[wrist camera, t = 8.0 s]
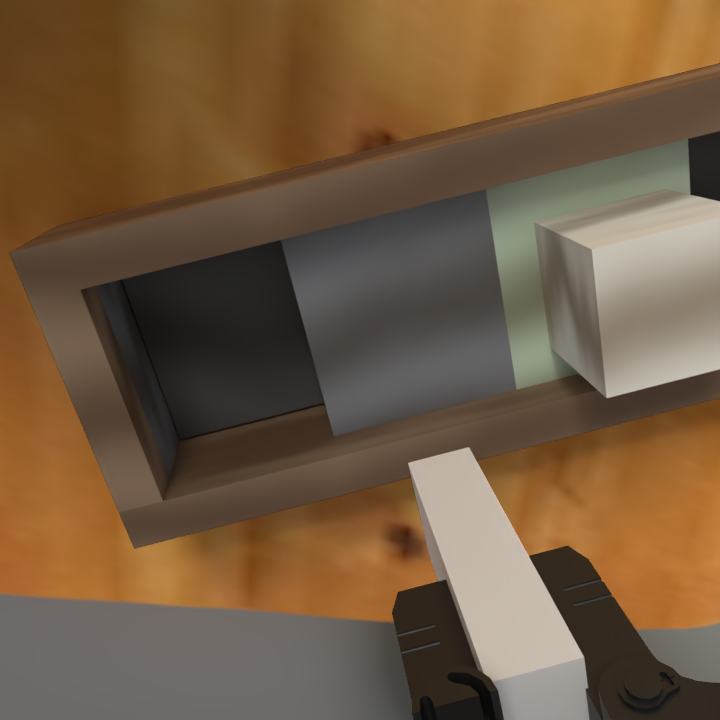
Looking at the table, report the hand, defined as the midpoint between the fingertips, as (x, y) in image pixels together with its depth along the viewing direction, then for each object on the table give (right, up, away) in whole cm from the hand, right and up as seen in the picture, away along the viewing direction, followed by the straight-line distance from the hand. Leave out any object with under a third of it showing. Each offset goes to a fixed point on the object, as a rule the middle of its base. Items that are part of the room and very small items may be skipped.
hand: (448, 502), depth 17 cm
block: (+9, +7, +15) cm, 19 cm away
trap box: (+4, +8, +18) cm, 20 cm away
